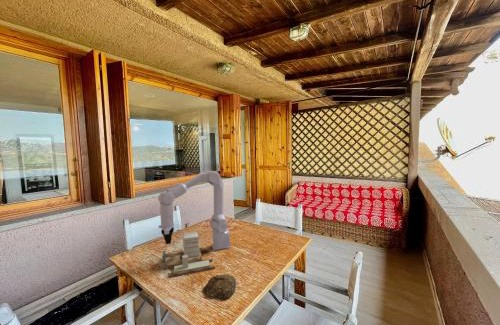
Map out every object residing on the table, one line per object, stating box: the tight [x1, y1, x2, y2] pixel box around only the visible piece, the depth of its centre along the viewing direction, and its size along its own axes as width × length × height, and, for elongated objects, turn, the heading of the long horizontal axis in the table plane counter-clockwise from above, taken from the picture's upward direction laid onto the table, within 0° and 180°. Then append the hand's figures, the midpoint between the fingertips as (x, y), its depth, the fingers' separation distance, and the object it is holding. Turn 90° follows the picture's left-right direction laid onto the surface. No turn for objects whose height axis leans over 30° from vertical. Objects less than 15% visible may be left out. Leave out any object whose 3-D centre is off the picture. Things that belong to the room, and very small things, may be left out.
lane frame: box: [168, 248, 216, 278], centre depth 107 cm, size 20×20×1 cm
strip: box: [173, 255, 211, 273], centre depth 102 cm, size 16×5×6 cm, turn 108°
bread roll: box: [202, 274, 237, 301], centre depth 86 cm, size 13×12×5 cm
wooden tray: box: [161, 247, 203, 270], centre depth 109 cm, size 18×10×5 cm, turn 108°
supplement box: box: [182, 231, 200, 258], centre depth 111 cm, size 7×7×13 cm
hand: (168, 243), depth 107 cm, fingers closed
